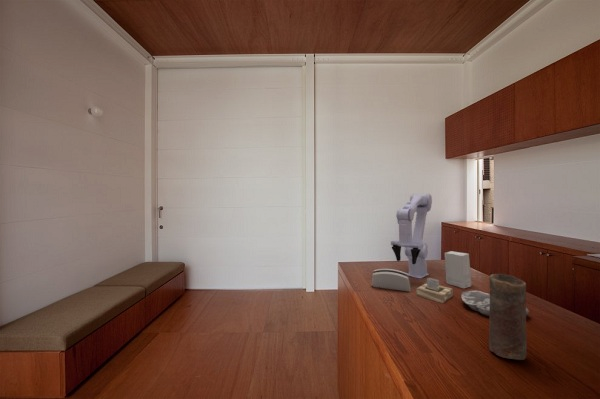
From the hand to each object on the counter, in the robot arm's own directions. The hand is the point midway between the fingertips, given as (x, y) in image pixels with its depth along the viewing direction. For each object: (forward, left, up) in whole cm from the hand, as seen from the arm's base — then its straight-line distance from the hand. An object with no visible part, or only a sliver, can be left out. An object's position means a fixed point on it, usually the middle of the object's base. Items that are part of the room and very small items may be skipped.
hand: (406, 262), depth 116 cm
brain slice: (+4, +33, -10) cm, 35 cm away
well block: (+6, +15, -10) cm, 19 cm away
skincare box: (-14, +17, -10) cm, 24 cm away
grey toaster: (+11, -2, -10) cm, 15 cm away
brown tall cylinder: (+31, +43, -10) cm, 54 cm away
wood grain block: (+6, +15, -9) cm, 19 cm away
